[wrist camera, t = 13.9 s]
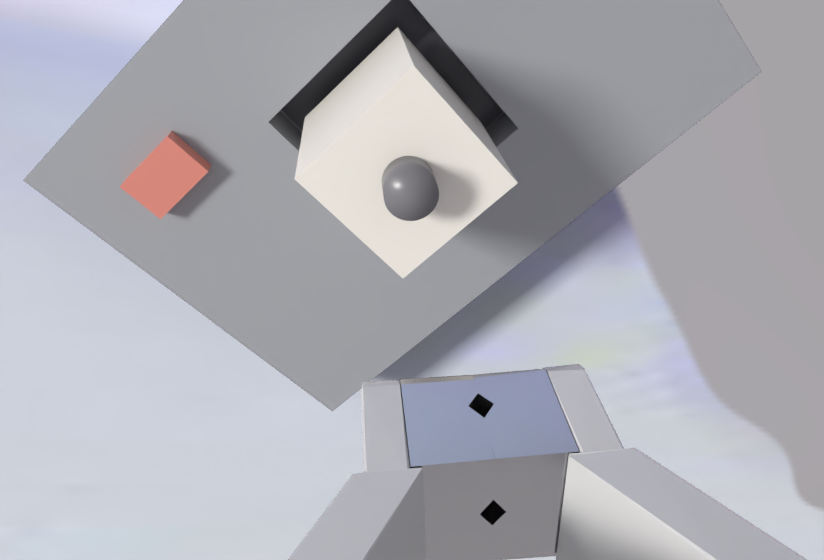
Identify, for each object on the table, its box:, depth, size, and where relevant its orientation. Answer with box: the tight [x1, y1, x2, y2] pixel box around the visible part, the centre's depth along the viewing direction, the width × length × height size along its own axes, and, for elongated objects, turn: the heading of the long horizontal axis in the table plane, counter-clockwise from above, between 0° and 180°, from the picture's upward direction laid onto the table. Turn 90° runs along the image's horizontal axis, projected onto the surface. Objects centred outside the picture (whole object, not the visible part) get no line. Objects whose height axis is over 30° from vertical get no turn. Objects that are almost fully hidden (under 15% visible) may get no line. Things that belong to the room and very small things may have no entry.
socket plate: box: [23, 0, 761, 411], centre depth 23 cm, size 20×14×4 cm
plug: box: [295, 27, 518, 278], centre depth 20 cm, size 4×4×8 cm
